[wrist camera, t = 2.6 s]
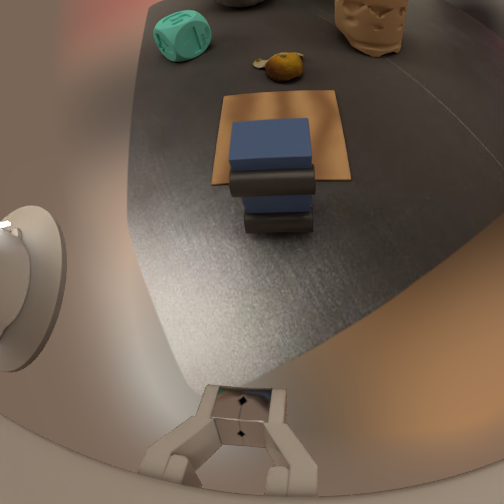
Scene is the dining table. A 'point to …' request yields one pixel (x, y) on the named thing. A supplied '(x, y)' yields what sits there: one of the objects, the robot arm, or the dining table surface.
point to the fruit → (282, 66)
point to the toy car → (273, 174)
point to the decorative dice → (182, 35)
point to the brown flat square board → (283, 107)
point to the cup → (239, 3)
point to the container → (372, 24)
